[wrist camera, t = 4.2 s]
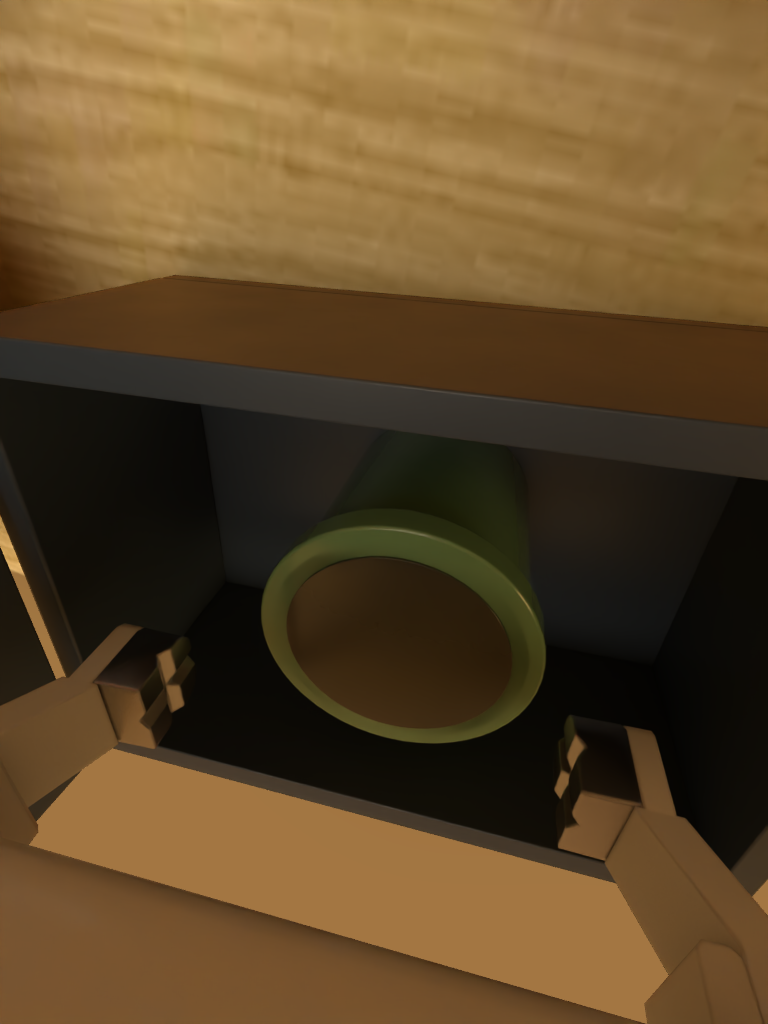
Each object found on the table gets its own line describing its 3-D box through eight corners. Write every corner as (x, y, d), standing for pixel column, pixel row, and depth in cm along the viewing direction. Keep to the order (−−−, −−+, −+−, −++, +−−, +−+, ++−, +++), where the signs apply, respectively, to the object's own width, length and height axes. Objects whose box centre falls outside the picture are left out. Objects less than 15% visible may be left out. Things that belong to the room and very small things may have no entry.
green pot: (559, 422, 15) (581, 560, 9) (519, 593, 19) (516, 772, 13) (345, 395, 16) (245, 504, 11) (344, 561, 20) (268, 713, 14)
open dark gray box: (823, 331, 13) (1142, 472, 6) (663, 668, 20) (735, 916, 13) (174, 274, 17) (-79, 328, 10) (221, 581, 23) (91, 743, 16)
